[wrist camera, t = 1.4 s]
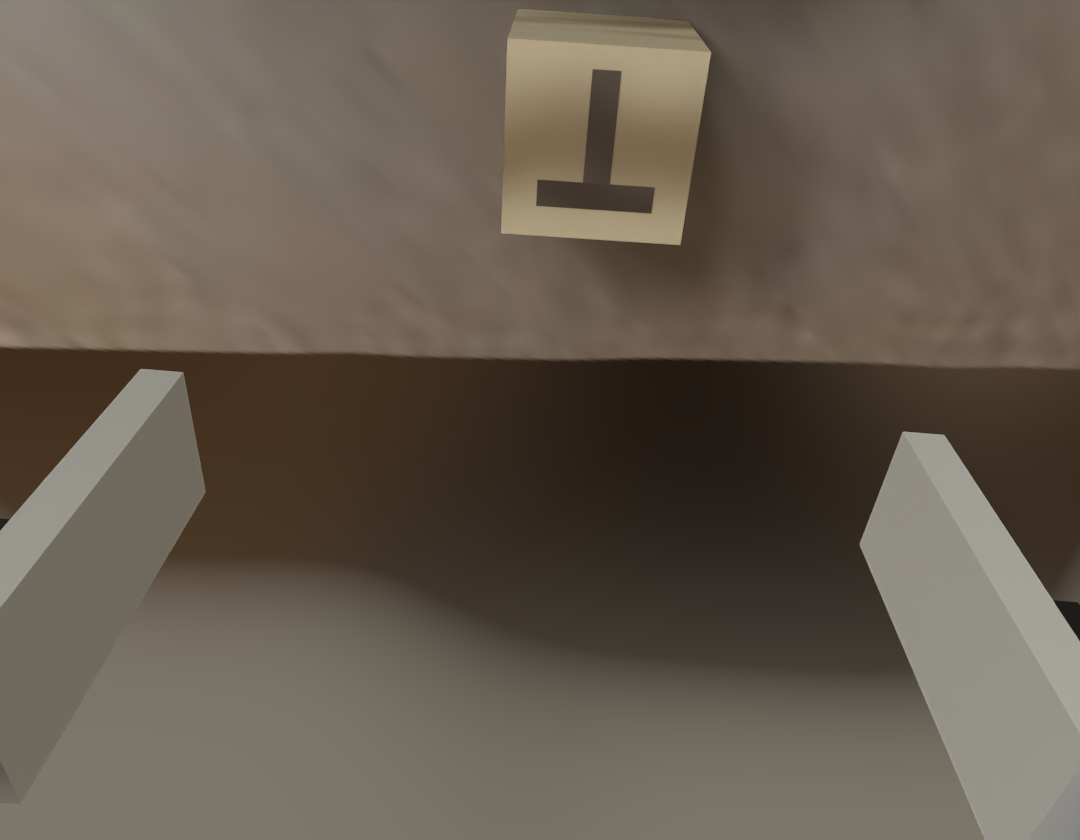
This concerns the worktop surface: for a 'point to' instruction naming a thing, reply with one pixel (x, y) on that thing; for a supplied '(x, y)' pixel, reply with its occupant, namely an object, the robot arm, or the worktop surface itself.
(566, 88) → the letter cube
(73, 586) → the robot arm
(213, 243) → the worktop surface
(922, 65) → the worktop surface
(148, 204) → the worktop surface
